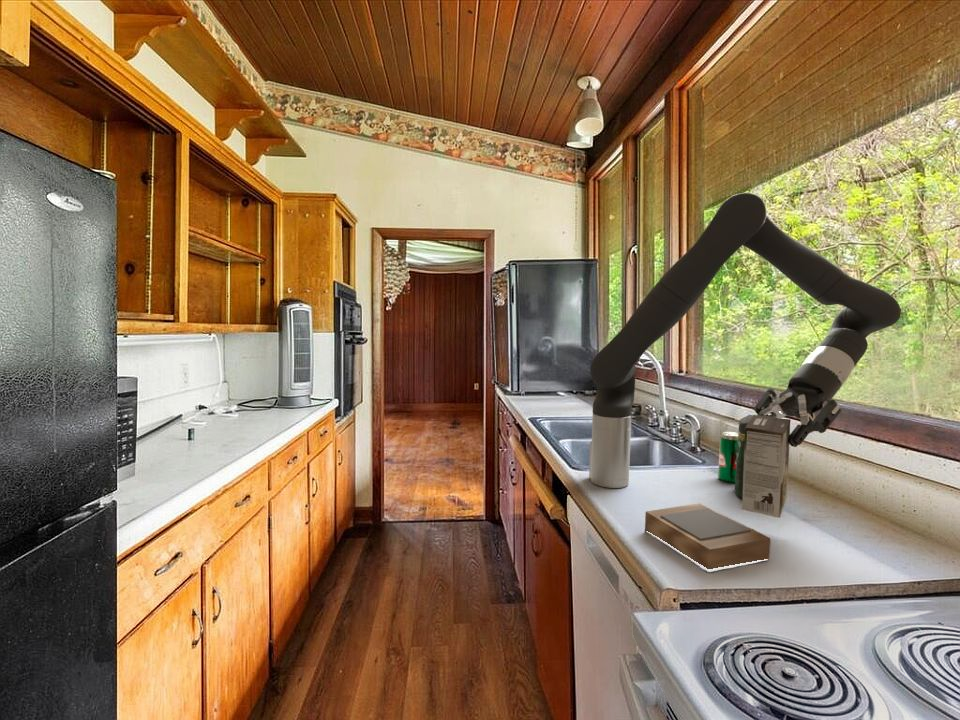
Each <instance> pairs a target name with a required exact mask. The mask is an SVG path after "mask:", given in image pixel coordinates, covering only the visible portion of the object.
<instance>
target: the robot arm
mask: <svg viewBox="0 0 960 720" xmlns="http://www.w3.org/2000/svg"><path fill="white" fill-rule="evenodd" d="M767 212H768V211H767V207H766V204H765V201H764V200H763V199H762V197H761V196H759V195H758V194H755V193H752V192H741V193H736V194H734V195H731V196H729V197H728V198H726V199H725V200H724V201H722V203H721V204H720V205H719V207H718V209H717V211H716V213H714V216H713V217H712V219H711V220H710V222H709V223H708V225H707V226H706V228H705V229H704V231H703V232H702V234H700V237H698V239H697V240H696V242H694V243H693V245H692V246H691V247H690V248H689V249H688V250H687V251H686V252H685V253H684V254H682V256H681V257H680V258H679V259H678V260H677V261H675V263H674V264H673V265H672V266H670V268H669V269H668V270H667V271H666V272H665V273H664V274H663V275H662V277H661V278H659V280H658V281H657V282H656V284H655V285H654V286H653V287H652V288H651V289H650V291H649V292H648V293H647V295H646V296H645V297H644V299H643V300H642V301H641V303H640V304H639V305H638V307H637V308H636V309H635V311H634V312H633V313H632V314H631V316H630V317H629V319H628V320H627V321H626V323H625V325H624V326H623V327H622V328H621V330H620V331H619V332H618V333H617V334H616V335H615V336H614V337H613V338H612V339H611V340H610V341H609V342H608V343H607V344H606V345H605V346H603V348H602V349H600V351H599V352H597V354H595V356H594V357H593V358H592V360H591V363H590V366H589V367H590V368H589V374H590V378H591V379H592V381H593V382H594V384H595V385H596V386H597V391H596V396H595V398H594V400H593V403H592V419H591V420H592V421H591V423H592V424H591V425H592V427H591V440H590V442H589V468H588V469H589V471H588V473H589V474H588V477H589V479H590V482H591V483H592V484H594V485H596V486H599V487H603V488H609V489H610V488H611V489H621V488H625V487H627V486H628V485H629V481H630V461H631V460H630V459H631V458H630V456H631V440H632V439H631V435H632V433H631V432H632V408H633V405H634V400H635V392H636V391H635V390H636V377H637V376H636V372H637V371H636V364H637V362H638V361H639V359H640V358H642V356H643V354H644V353H645V352H646V351H647V350H648V349H649V348H650V347H651V346H652V345H653V344H655V342H657V341H658V340H659V339H661V338H662V337H663V336H664V335H665V334H667V333H668V332H669V331H670V330H672V329H673V328H674V327H675V326H676V325H677V324H678V323H679V322H680V321H681V319H682V318H683V317H684V316H685V315H686V314H687V313H688V312H689V311H690V310H691V308H692V307H693V306H694V305H695V304H696V303H697V301H698V300H699V298H700V297H701V296H702V295H703V294H704V292H705V291H706V290H707V288H708V287H709V285H710V284H711V283H712V281H713V279H714V278H715V277H716V275H717V274H718V272H719V271H720V270H721V268H722V267H723V266H724V264H726V263H727V261H729V259H730V258H732V256H734V255H735V253H736V252H737V251H738V250H739V249H740V248H741V247H742V246H744V248H747V249H749V250H751V251H752V252H753V253H755V254H757V255H758V256H760V257H761V258H763V259H764V260H765V261H767V262H768V263H769V264H771V265H772V266H773V267H774V268H776V269H777V270H778V271H779V272H781V274H783V275H784V276H785V277H786V278H788V279H789V280H790V281H791V282H793V284H795V285H796V286H797V287H798V288H800V290H802V291H803V292H805V293H806V294H808V295H809V296H810V297H811V298H813V299H814V300H815V301H817V302H818V303H819V304H821V305H824V306H833V305H840V306H843V308H841V310H840V311H839V312H838V313H837V315H836V316H835V317H834V319H833V321H832V323H831V326H830V328H829V330H828V334H827V335H826V336H825V337H824V338H823V340H822V341H821V342H820V343H819V344H818V346H817V347H816V348H815V350H813V351H812V352H811V353H810V354H809V355H808V356H807V357H806V359H804V361H803V362H802V364H801V365H800V366H799V368H798V369H797V370H796V371H795V373H794V374H793V375H792V377H790V379H789V381H788V384H787V388H785V390H782V391H781V392H778V391H777V392H776V391H775V390H774V389H773V388H768V389H767V390H766V392H765V393H764V394H763V395H762V397H761V398H760V400H759V401H757V403H756V404H755V406H754V407H753V411H754V413H756V415H761V416H770V417H776V418H781V419H784V417H786V416H787V417H788V416H789V417H796V418H797V419H800V424H797V425H796V427H794V429H793V430H792V431H791V432H790V435H789V437H788V443H789V446H790V447H794V448H797V447H798V446H800V445H801V444H803V442H804V441H805V440H806V439H807V437H808V436H809V434H812V433H814V432H818V433H820V434H823V433H825V432H826V431H827V430H828V429H829V427H831V424H832V423H833V422H834V421H835V420H836V419H837V417H838V416H839V415H840V413H842V409H841V407H840V405H839V403H837V401H836V400H835V399H833V398H834V397H835V395H836V394H837V392H839V390H840V389H841V388H842V386H843V385H844V384H845V383H846V381H847V380H848V378H849V377H850V375H851V373H852V372H853V370H854V368H855V367H856V366H857V364H858V363H859V361H860V360H861V359H862V358H863V357H864V355H865V354H866V351H867V349H868V345H869V344H868V340H867V337H868V336H870V335H871V334H873V333H875V332H879V331H882V330H884V329H886V328H889V327H891V326H894V324H896V323H897V322H898V321H899V320H900V318H901V315H902V310H901V307H900V306H901V305H900V304H899V302H898V301H897V299H896V298H895V297H894V296H893V295H891V294H890V293H888V292H887V291H885V290H883V289H881V288H879V287H876V286H874V285H872V284H870V283H867V282H865V281H862V280H860V279H857V278H855V277H852V276H850V275H848V274H847V273H846V272H845V271H844V270H842V269H841V268H839V266H837V265H835V264H834V263H833V262H832V261H830V260H829V259H828V258H826V257H825V256H823V255H822V254H820V253H818V252H817V251H815V250H814V249H812V248H810V247H808V246H807V245H805V244H804V243H801V242H800V241H798V240H796V239H794V238H793V237H792V236H790V235H789V234H787V233H786V232H784V231H783V230H782V229H781V228H780V227H778V226H777V225H776V224H775V223H774V222H773V221H772V219H770V218H769V217H768V215H767ZM779 407H780V409H781V410H779ZM772 412H773V413H772ZM817 412H818V413H817ZM770 413H771V414H770ZM816 413H817V415H816V416H815V414H816Z"/></svg>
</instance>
